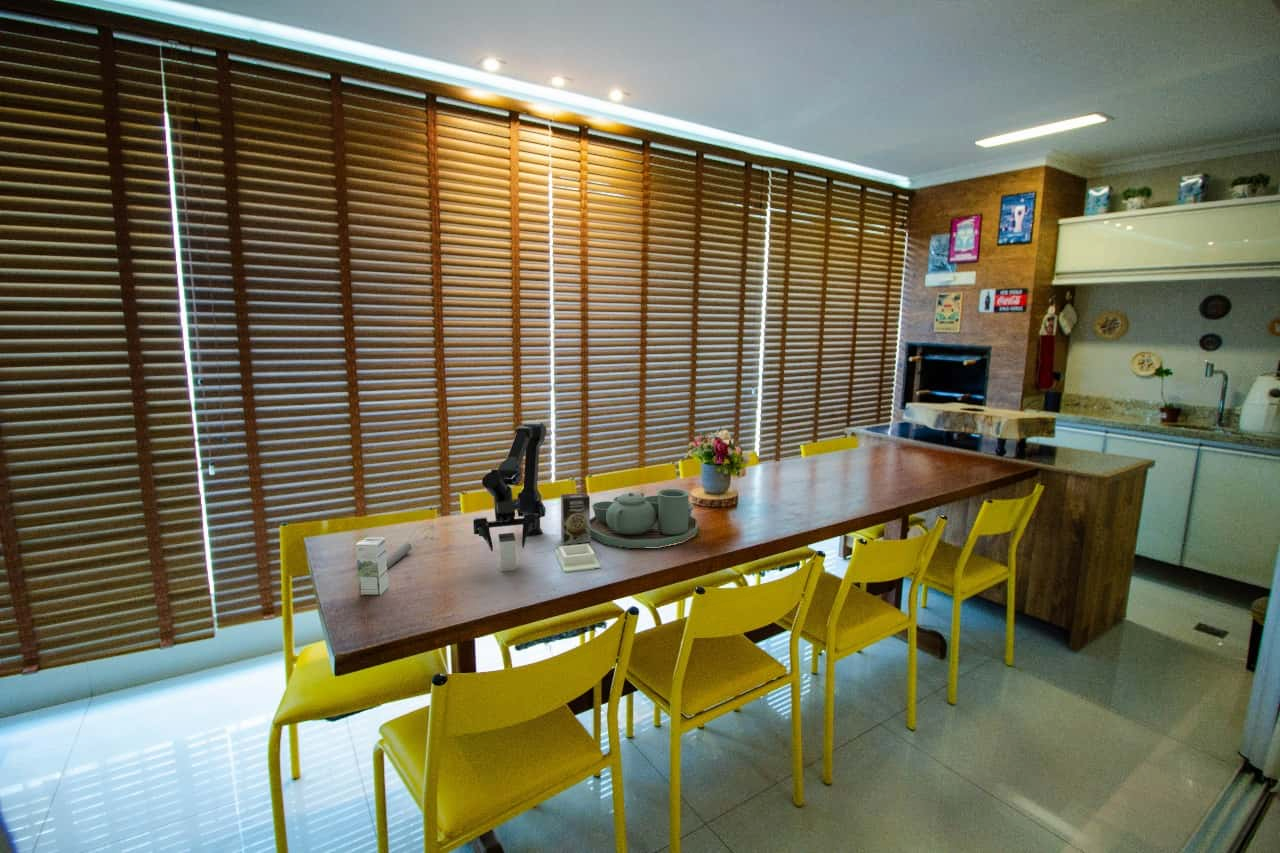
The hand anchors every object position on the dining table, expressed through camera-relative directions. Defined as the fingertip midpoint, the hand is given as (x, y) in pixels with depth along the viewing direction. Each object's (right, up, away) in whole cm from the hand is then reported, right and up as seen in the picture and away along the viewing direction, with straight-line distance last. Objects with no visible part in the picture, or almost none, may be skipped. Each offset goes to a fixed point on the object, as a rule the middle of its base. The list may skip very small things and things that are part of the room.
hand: (507, 549), depth 167 cm
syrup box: (-33, -9, -13) cm, 37 cm away
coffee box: (+17, -3, +26) cm, 31 cm away
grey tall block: (-1, -6, +3) cm, 7 cm away
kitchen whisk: (-35, -5, +16) cm, 39 cm away
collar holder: (+19, -5, +9) cm, 22 cm away
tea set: (+40, -2, +37) cm, 55 cm away
